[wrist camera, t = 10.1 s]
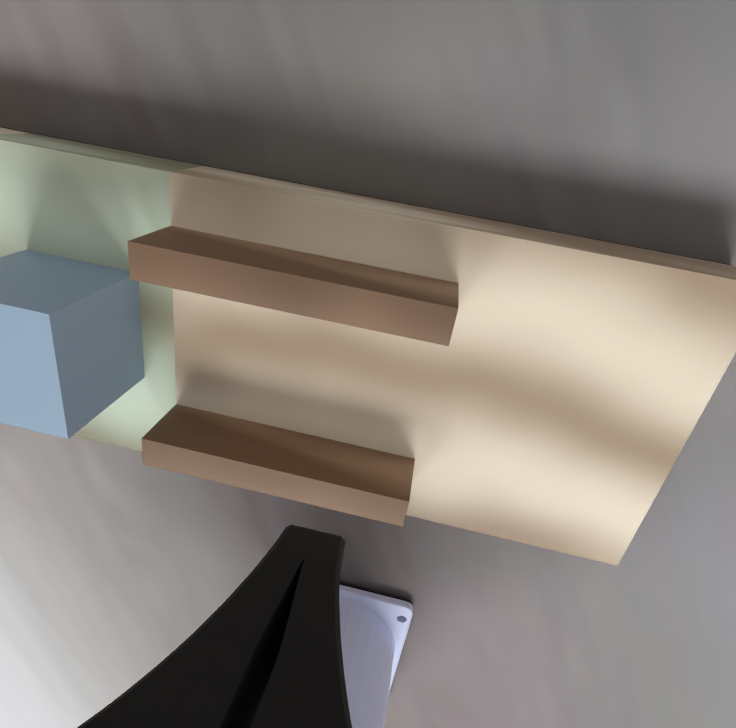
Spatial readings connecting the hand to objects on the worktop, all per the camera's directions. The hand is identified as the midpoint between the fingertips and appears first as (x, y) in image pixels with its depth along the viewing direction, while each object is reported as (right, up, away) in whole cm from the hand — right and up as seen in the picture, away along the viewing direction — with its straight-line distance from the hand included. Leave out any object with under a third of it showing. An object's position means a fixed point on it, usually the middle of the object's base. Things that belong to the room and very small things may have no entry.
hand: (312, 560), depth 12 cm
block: (-10, +7, +7) cm, 14 cm away
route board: (-3, +6, +9) cm, 11 cm away
